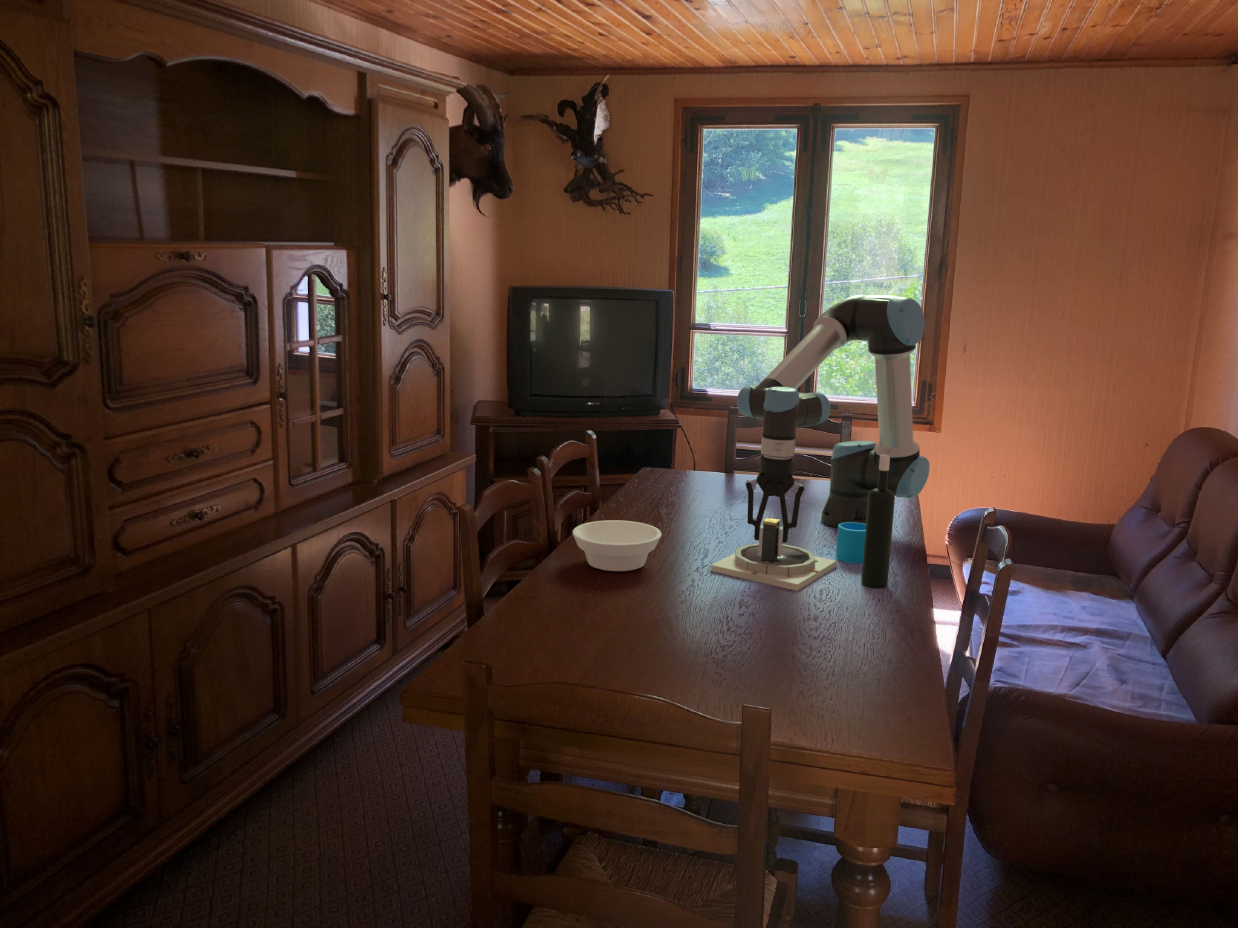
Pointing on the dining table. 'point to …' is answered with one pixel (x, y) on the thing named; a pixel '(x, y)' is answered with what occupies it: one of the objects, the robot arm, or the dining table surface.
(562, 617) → the dining table surface
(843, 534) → the mug
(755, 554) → the dial
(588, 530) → the bowl
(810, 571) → the dial board
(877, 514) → the wine bottle
